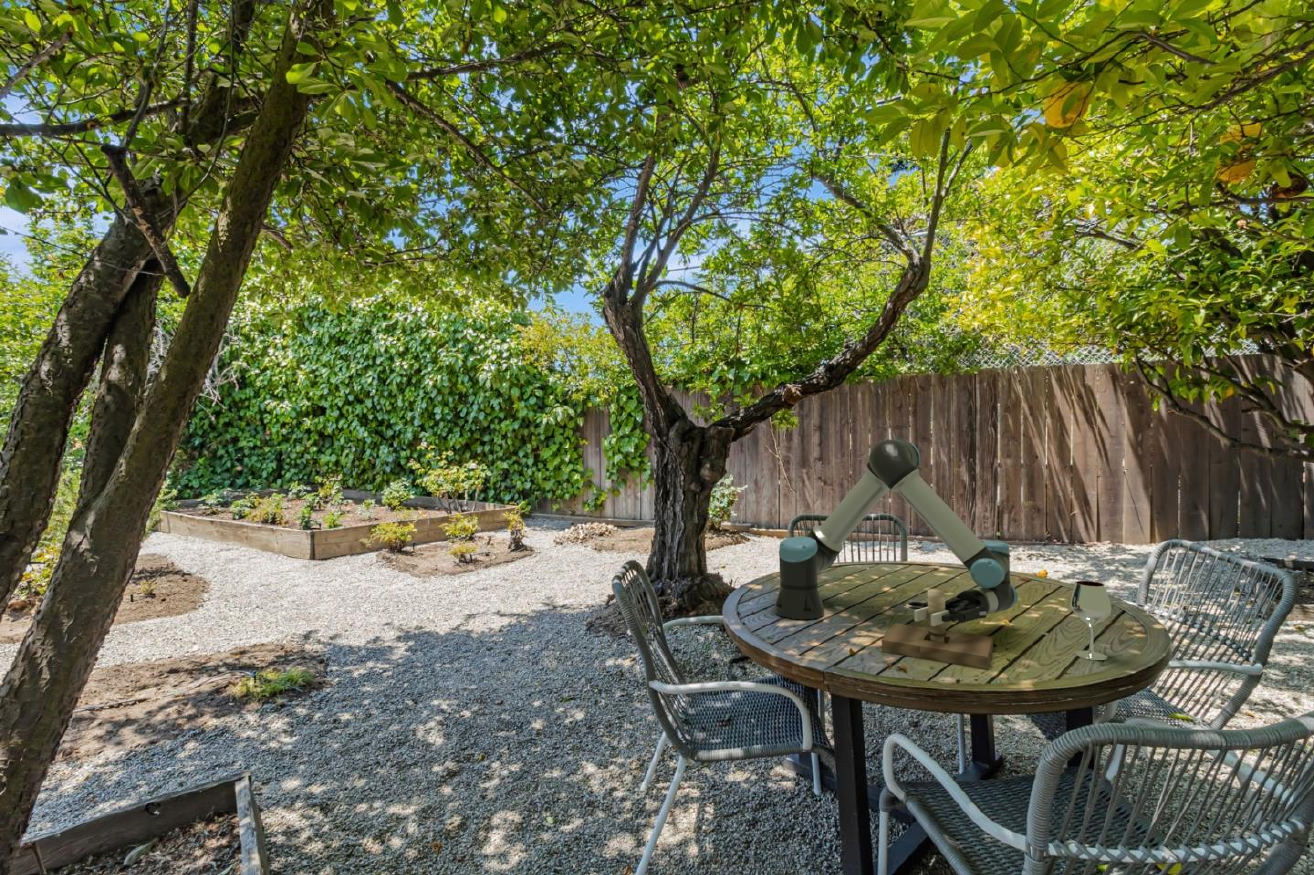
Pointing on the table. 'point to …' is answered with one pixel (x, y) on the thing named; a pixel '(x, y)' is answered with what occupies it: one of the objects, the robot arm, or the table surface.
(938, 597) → the peg
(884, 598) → the table surface
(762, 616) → the table surface
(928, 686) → the table surface
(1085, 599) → the wineglass
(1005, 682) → the table surface
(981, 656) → the board
